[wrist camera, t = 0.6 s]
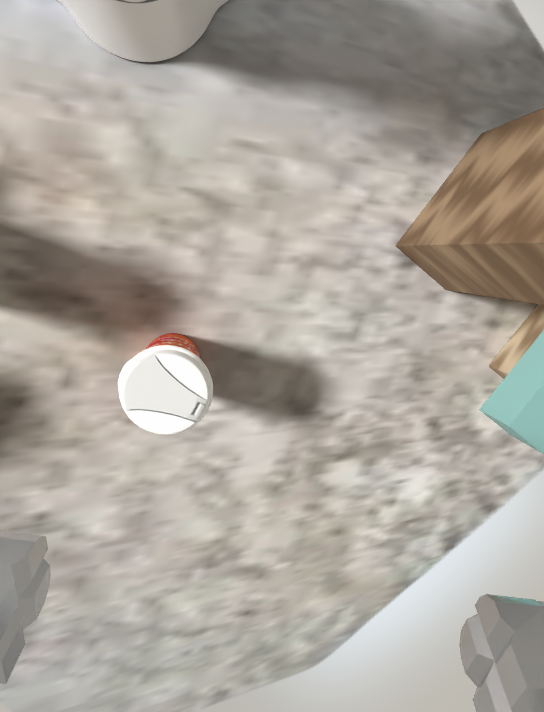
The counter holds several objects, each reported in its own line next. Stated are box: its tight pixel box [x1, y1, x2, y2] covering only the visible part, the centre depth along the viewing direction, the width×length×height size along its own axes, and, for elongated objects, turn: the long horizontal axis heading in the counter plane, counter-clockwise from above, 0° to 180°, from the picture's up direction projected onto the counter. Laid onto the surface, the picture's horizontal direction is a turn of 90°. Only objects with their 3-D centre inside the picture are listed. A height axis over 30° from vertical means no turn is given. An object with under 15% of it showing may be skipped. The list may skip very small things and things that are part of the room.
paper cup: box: [118, 333, 213, 434], centre depth 47 cm, size 8×8×14 cm
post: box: [396, 108, 544, 305], centre depth 42 cm, size 15×8×26 cm, turn 142°
